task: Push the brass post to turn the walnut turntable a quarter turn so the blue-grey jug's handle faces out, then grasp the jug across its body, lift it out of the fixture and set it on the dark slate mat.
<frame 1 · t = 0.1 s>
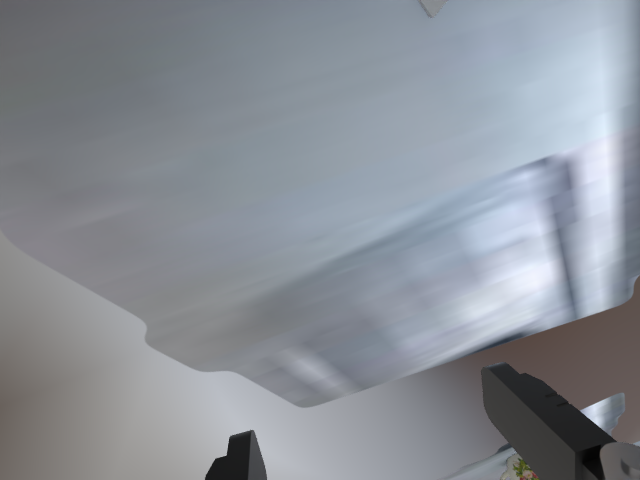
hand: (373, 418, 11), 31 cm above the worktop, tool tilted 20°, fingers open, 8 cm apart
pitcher: (513, 457, 113), on the worktop
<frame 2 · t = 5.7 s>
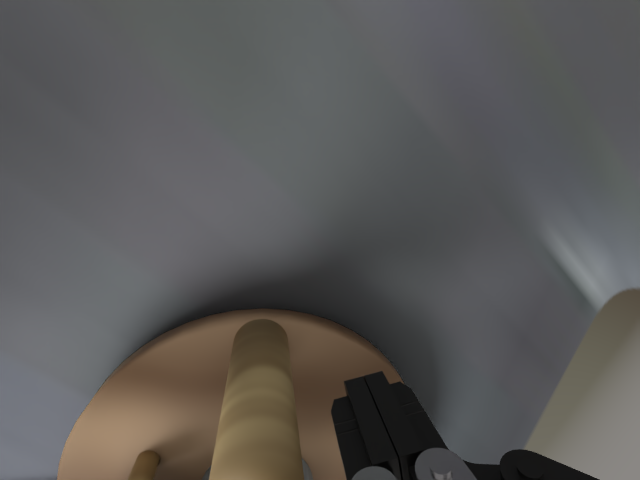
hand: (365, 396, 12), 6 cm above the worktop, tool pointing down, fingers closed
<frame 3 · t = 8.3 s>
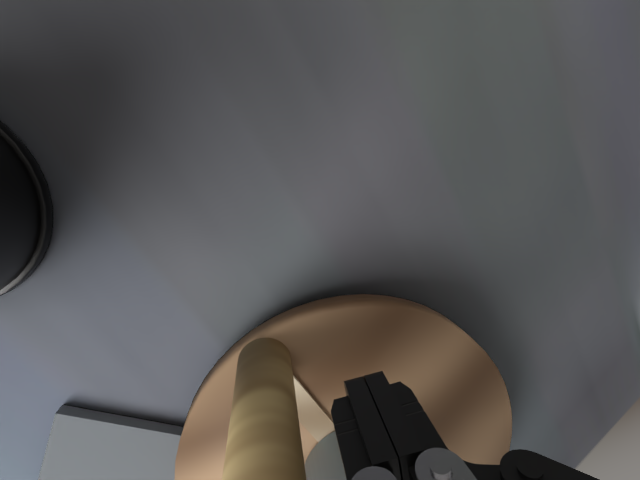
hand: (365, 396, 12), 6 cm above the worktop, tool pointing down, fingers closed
jug: (356, 467, 18), point 3 cm above the worktop, touching turntable
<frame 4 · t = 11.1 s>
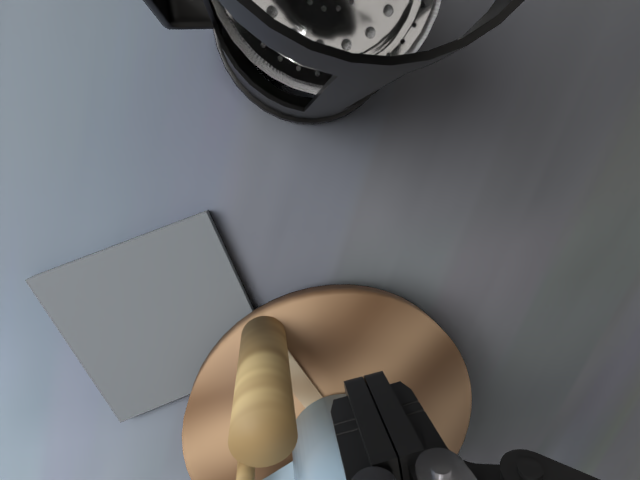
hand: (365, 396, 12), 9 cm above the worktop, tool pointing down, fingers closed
slate mat: (163, 318, 20), on the worktop
jug: (336, 432, 21), point 3 cm above the worktop, touching turntable
french press: (297, 30, 18), on the worktop
turntable: (345, 469, 18), point 5 cm above the worktop, hinge at 101.3°, touching jug
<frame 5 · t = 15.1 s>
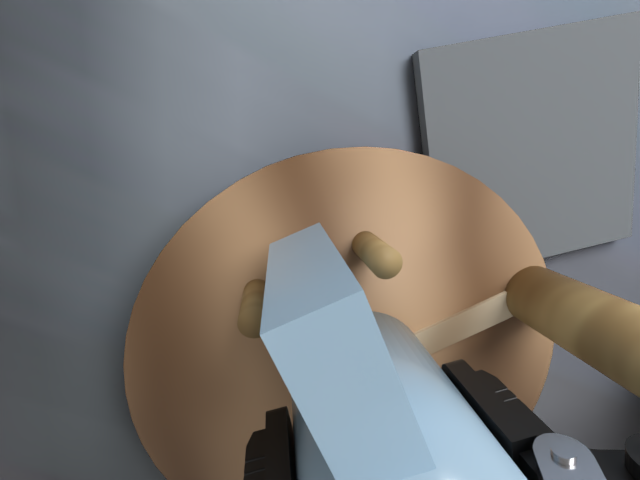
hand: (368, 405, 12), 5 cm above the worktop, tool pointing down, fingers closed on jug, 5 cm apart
slate mat: (527, 154, 16), on the worktop
jug: (358, 373, 14), point 3 cm above the worktop, touching gripper, turntable
turntable: (381, 420, 11), point 5 cm above the worktop, hinge at 101.5°, touching jug
when the fingers open (4 cm above the worktop, at t = 22.0 s): jug drops 1 cm, resting on slate mat.
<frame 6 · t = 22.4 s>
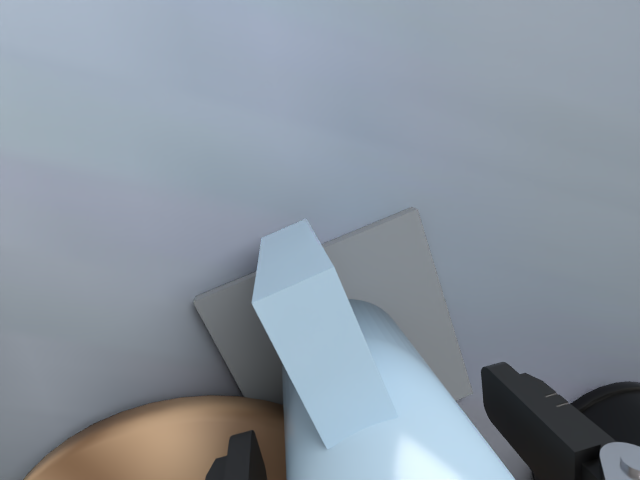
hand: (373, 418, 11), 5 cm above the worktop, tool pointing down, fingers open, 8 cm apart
slate mat: (344, 345, 16), on the worktop
jug: (343, 357, 15), point 1 cm above the worktop, touching slate mat
french press: (602, 440, 20), on the worktop
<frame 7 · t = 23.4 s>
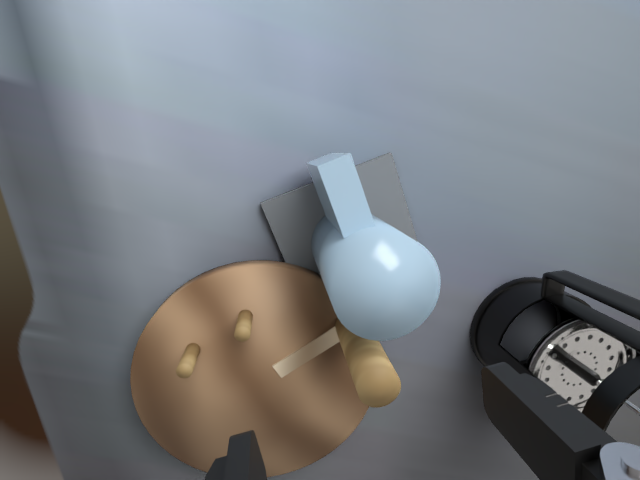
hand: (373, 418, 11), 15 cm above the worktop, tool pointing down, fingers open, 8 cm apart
slate mat: (347, 239, 26), on the worktop
jug: (348, 243, 25), point 1 cm above the worktop, touching slate mat
french press: (518, 320, 30), on the worktop
turntable: (259, 407, 22), point 5 cm above the worktop, hinge at 101.5°
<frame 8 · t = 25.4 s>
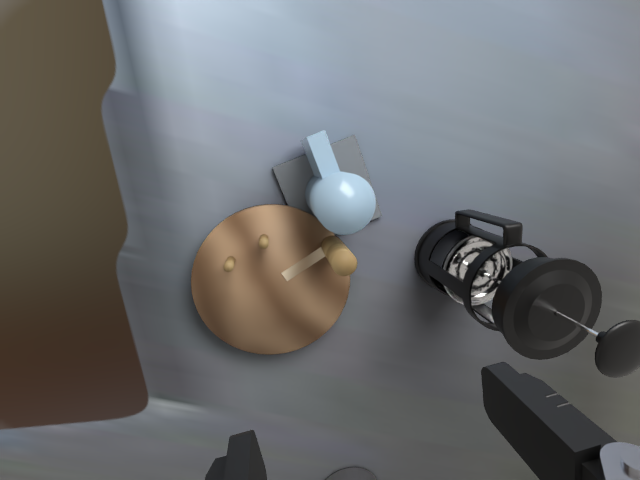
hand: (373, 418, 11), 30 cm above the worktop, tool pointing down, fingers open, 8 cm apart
slate mat: (328, 192, 40), on the worktop
jug: (328, 194, 39), point 1 cm above the worktop, touching slate mat
french press: (448, 250, 44), on the worktop
turntable: (274, 292, 36), point 5 cm above the worktop, hinge at 101.5°
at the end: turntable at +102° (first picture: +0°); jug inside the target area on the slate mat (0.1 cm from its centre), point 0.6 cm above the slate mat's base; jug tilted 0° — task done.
